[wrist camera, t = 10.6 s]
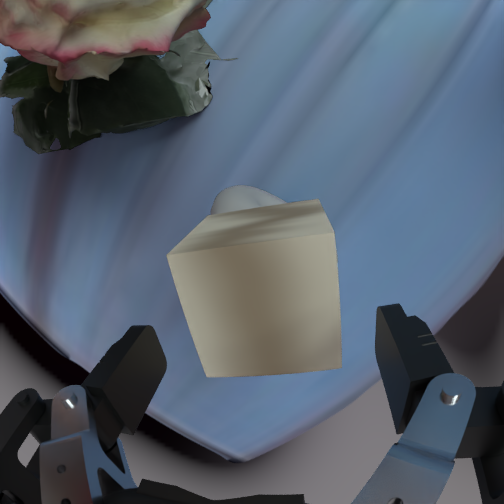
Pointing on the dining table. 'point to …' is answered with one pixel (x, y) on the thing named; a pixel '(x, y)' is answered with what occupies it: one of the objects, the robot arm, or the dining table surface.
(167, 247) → the dining table surface
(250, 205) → the donut
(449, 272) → the dining table surface
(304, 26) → the dining table surface
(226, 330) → the birch cube
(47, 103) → the rose bouquet
